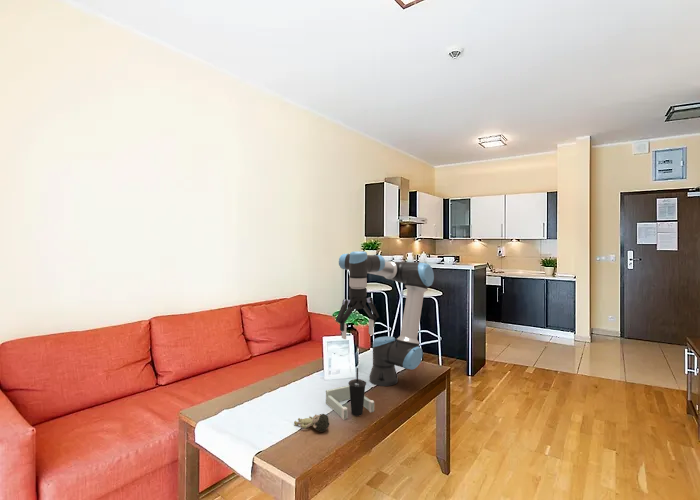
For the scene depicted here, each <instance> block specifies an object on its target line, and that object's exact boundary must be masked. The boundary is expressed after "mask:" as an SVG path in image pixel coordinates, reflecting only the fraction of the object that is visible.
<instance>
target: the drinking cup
mask: <svg viewBox="0 0 700 500" xmlns="http://www.w3.org/2000/svg"><path fill="white" fill-rule="evenodd" d="M348 385H349V389H350V399H349V400H350V401H349V402H350V412H351V415H352V416H354V417H360V416H362V415H363V413H364V407H363V404H364V396H365V391H366V385H367V382H366V380H363V379H360V378H359V368H358V367H356V378H354V379H351V380H349V381H348Z"/></svg>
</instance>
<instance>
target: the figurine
mask: <svg viewBox="0 0 700 500" xmlns="http://www.w3.org/2000/svg"><path fill="white" fill-rule="evenodd" d="M297 420H298V421H296V420H295V421H294V423H293V425H294V426H295V427H297V426H299V427H300V428H301V429H308V428H309V427H313V428H314V429H315V431H318V432H326V430H328V428H329V427H330V421H329V416H328V415H327V414H325V413H321V414H314V415H313V416H310V415H309V416H308V417H305V418H300V417H298V419H297Z"/></svg>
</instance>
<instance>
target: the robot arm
mask: <svg viewBox="0 0 700 500" xmlns="http://www.w3.org/2000/svg"><path fill="white" fill-rule="evenodd" d="M338 266H339V268H341V269H342V270H345V271H349V279H348V280H349V283H348V285H349V289H348V290H349V292H348V294H349V295H348V296H349V299H344V298H343V300H342V304H341V307H340V309H339V312H338V314H337V317H336V318H335V322H336V323H339V331H340V332H341V339H343V340H347V323H346V322H347V320H348V319H349V317H350V316H351V315H352V313H353V312H354V311H355V310H362V309H363V311H364V312H365V313H366V314H367V316H368V317H369V319H368V335H371V336H374V335H375V333H374V332H375V331H374V329H375V327H376V321H377V319H379V318H380V314H379V313H378V311H377V309H376V306H375V304H374V298H373V297H371V296H368V295H367V294H368V293H367V292H368V288H366V287H367V286H368V282H367V281H368V274H370V275H376V276H380V277H384V278H385V279H386V280H391V281H394V282H397V283H401V284H405V285H404V287H405V288H406V290H407V292H406V297H405V303H404V304H405V305H404V310H403V316H402V323H401V329H400V335H399V336H398V337H397V338H395V337H394V336H385V335H384V336H379V337H376V338H374V339H373V341H372V366H371V370H370V372H369V373H370V374H369V375H368V376H369V377H368V379H369V382H370V383H371V384H373V385H374V386H378V387H379V386H380V387H388V386H394V385H396V384H397V383H398V382H399V379H398V378H399V377H398V373H397V370H396V367H395V366H397V367H401V368H403V369H405V370H406V369H407V370H415V369H417V368H418V366H419V365H420V364H421V362H422V359H423V356H424V355H423V353H424V352H423V349H422V347H420V341H419V340H418V336H419V335H418V334H419V328H420V322H421V316H422V308H423V301H424V295H425V293H426V292H427V291H428V288H429V287H430V286H432V285H433V283H434V280H435V274H434V270H433V267H432V266H431V264H429V263H426V262H425V263H424V262H418V261H417V262H414V261H413V262H412V261H411V262H410V261H392V260H391V261H390V260H389V261H385V258H384V257H383V256H382V255H381V254H368V253H367V252H366V251H362V250H361V251H360V250H359V251H356V250H355V251H351V252H350V253H342V254H341V255H340V256H339V258H338ZM367 296H368V297H367ZM367 304H368V306H369V307H370V309H369V308H368V306H367Z"/></svg>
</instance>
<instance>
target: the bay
mask: <svg viewBox="0 0 700 500" xmlns="http://www.w3.org/2000/svg"><path fill="white" fill-rule="evenodd" d="M347 400H348V401H349V400H350V389H349V384H348V385H345V386H341V387H336V388H330V389H326V390H325V403H326V405H328V407H330V408H331V409H332V410H333V411H334V412H335V413H336V414H337V415H338V416H339V417H340V418H341V419H342V420H344V421H345V420H348V407H346V406H343V405H342V404H341V403H340V402H343V401H347ZM363 408H365V409H366V410H367V411H368V412H369V413H374V412H375V401H374V400H373V399H370V398H368V397H367V396H366V395H364V404H363Z"/></svg>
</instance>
